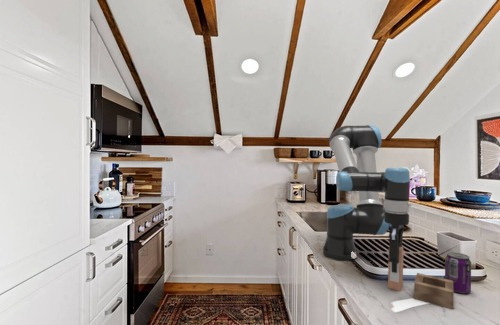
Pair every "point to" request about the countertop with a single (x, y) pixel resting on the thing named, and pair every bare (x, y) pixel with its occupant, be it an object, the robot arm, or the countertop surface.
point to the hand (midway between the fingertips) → (395, 278)
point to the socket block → (434, 290)
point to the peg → (395, 284)
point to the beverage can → (458, 271)
